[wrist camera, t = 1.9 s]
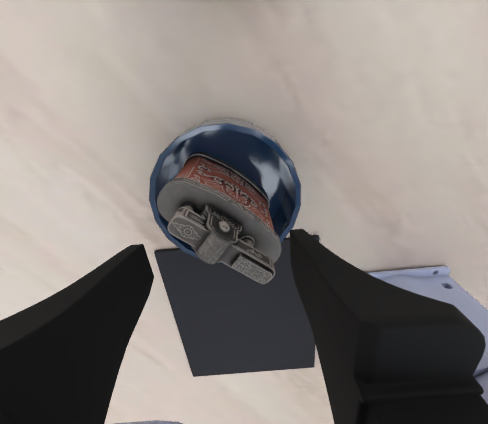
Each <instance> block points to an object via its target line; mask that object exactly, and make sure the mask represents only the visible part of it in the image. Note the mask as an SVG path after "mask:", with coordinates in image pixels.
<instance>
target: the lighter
mask: <svg viewBox="0 0 488 424" xmlns="http://www.w3.org/2000/svg"><path fill="white" fill-rule="evenodd" d="M269 206H270V204H269V199H268V197H267V195H266V193H265V192H264V191H263V190H262V189H261V188H260V187H259V186H258V185H257V184H256V183H255V182H254V181H252V180H251V179H250V178H249V177H247V176H246V175H245V174H244V173H242V172H241V171H240V170H238V169H237V168H235V167H233V166H231V165H230V164H228V163H226V162H225V161H223V160H221V159H219V158H216V157H214V156H212V155H210V154H207V153H205V152H201V151H199V152H194V153H192V154H191V155H190V156H189V157H188V158H187V159H186V160H185V162H184V164H183V167H182V169H181V171H180V172H179V173H178V174H177V176H176V177H175V178H174V179H173V180H171V181H169V182H168V183H167V184H166V185H165V186H164V187H163V189H162V190H161V191H160V193H159V195H158V198H157V207H158V210H159V213H160V214H161V215H162V216H163V218H164V219H166V220H167V221H168V222H169V225H168V231H169V233H170V234H172V235H173V236H175V237H177V238H179V239H180V240H182V241H184V242H186V243H188V244H189V245H191V247H192V249H193V250H194V251H195V254H196V255H197V257H198V258H199V259H200V260H202V261H204V262H206V263H208V264H215V263H220V262H222V263H224V264H226V265H227V266H229V267H231V268H233V269H235V270H237V271H238V272H240V273H242V274H244V275H246V276H247V277H249V278H251V279H253V280H255V281H256V282H259V283H261V284H266V283H268V282H269V281H270V280H271V279H272V278H273V277H274V276H275V269H274V263H275V262H276V261H277V260H278V258H279V257H280V254H281V243H280V240H279V237H278V236H277V234H276V233H275V232H274V228H273V224H272V220H271V216H270V212H269Z"/></svg>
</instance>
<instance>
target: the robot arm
mask: <svg viewBox="0 0 488 424" xmlns="http://www.w3.org/2000/svg"><path fill="white" fill-rule="evenodd" d="M290 257H291V268H292V273H293V277H294V281H295V284H296V287H297V290H298V293H299V295H300V298H301V301H302V304H303V306H304V309H305V312H306V315H307V317H308V320H309V323H310V326H311V329H312V332H313V336H314V340H315V344H316V347H317V351H318V355H319V359H320V363H321V367H322V371H323V376H324V380H325V384H326V388H327V393H328V397H329V401H330V405H331V410H332V414H333V419H334V423H335V424H488V310H487V309H486V308H485V307H484V306H483V305H481V304H480V303H479V302H478V301H477V300H476V299H475V298H473V297H472V296H471V295H470V294H469V293H468V292H467V291H465V290H464V289H463V288H462V287H461V286H460V285H459V284H457V283H456V282H455V281H454V280H453V279H452V278H451V277H449V273H450V268H448V267H447V266H436V267H425V268H414V269H403V270H391V271H380V272H369V273H366V272H364V271H362V270H360V269H358V268H356V267H355V266H353V265H351V264H349V263H348V262H346V261H344V260H343V259H341V258H340V257H338V256H337V255H335V254H334V253H332V252H331V251H330V250H328V249H327V248H326V247H324V246H323V245H322V244H320V243H319V242H318V241H317V240H315V239H314V238H313V237H312V236H311V235H309V234H308V233H307V232H306V231H305V230H303V229H296V230H290ZM153 279H154V275H153V272H152V269H151V266H150V263H149V260H148V257H147V254H146V251H145V248H144V245H143V244H139V245H131V246H129V247H127V248H125V249H124V250H122V251H121V252H119V253H118V254H116V255H115V256H113V257H112V258H110V259H109V260H107V261H106V262H105V263H103V264H102V265H100V266H99V267H97V268H96V269H94V270H93V271H91V272H90V273H88V274H87V275H85V276H84V277H82V278H81V279H79V280H77V281H76V282H74V283H73V284H71V285H70V286H68V287H66V288H64V289H63V290H61V291H59V292H57V293H56V294H54V295H52V296H50V297H48V298H47V299H45V300H43V301H41V302H39V303H37V304H35V305H33V306H31V307H29V308H27V309H24V310H22V311H20V312H18V313H16V314H14V315H12V316H10V317H8V318H5V319H3V320H1V321H0V424H104V422H105V419H106V415H107V411H108V407H109V403H110V400H111V396H112V392H113V389H114V386H115V382H116V379H117V375H118V372H119V369H120V366H121V363H122V360H123V356H124V353H125V350H126V347H127V345H128V342H129V340H130V337H131V335H132V333H133V331H134V328H135V326H136V324H137V322H138V319H139V317H140V315H141V313H142V310H143V308H144V306H145V303H146V301H147V299H148V296H149V293H150V290H151V287H152V283H153ZM115 424H182V423H179V422H171V421H142V422H129V423H115Z"/></svg>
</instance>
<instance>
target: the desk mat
mask: <svg viewBox="0 0 488 424" xmlns="http://www.w3.org/2000/svg"><path fill="white" fill-rule="evenodd" d="M312 237H313V238H314V239H315V240H317V241H318V242H319V236H318V235H315V236H312ZM154 254H155V257H156V260H157V263H158V266H159V270H160V273H161V276H162V279H163V282H164V285H165V289H166V292H167V295H168V298H169V301H170V304H171V308H172V311H173V314H174V317H175V320H176V323H177V327H178V330H179V333H180V336H181V339H182V343H183V346H184V349H185V352H186V355H187V358H188V362H189V365H190V368H191V371H192V374H193V377H195V376H208V375H221V374H234V373H246V372H259V371H272V370H285V369H298V368H310V367H314V360H315V340H314V336H313V332H312V329H311V326H310V323H309V320H308V317H307V315H306V312H305V309H304V306H303V304H302V301H301V298H300V295H299V293H298V290H297V287H296V284H295V281H294V277H293V273H292V268H291V257H290V238H284V240H283V241H282V242H281V254H280V257H279V258H278V260H277V261H276V262H275V263H274V269H275V276H274V277H273V278H272V279H271V280H270V281H269V282H268V283H266V284H261V283H259V282H256V281H255V280H253V279H251V278H249V277H247V276H246V275H244V274H242V273H240V272H238V271H237V270H235V269H233V268H231V267H229V266H227V265H226V264H221V263H215V264H208V263H206V262H204V261H202V260H200V259H199V258H196V257H194V256H192V255H190V254H187V253H185V252H183V251H182V250H181V249H180V248H176V249H166V250H156V251H155V252H154Z"/></svg>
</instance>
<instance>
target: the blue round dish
mask: <svg viewBox="0 0 488 424" xmlns="http://www.w3.org/2000/svg"><path fill="white" fill-rule="evenodd" d="M199 151H201V152H205V153H207V154H210V155H212V156H214V157H216V158H219V159H221V160H223V161H225V162H226V163H228V164H230V165H231V166H233V167H235V168H237V169H238V170H240V171H241V172H242V173H244V174H245V175H246V176H247V177H249V178H250V179H251V180H252V181H254V182H255V183H256V184H257V185H258V186H259V187H260V188H261V189H262V190H263V191H264V192H265V193H266V195H267V197H268V199H269V204H270V206H269V212H270V216H271V220H272V224H273V228H274V232H275V233H276V234H277V236H278V237H279V240H280V243H281V242H282V241H283V240H284V238H285V237H286V236H287V234H288V233H289V232H290V230H291V229H292V228H293V226H294V224H295V221H296V218H297V215H298V212H299V209H300V206H301V185H300V181H299V178H298V176H297V173H296V170H295V167H294V164H293V162H292V161H291V159H290V158H289V157H288V155H287V154H286V153H285V152H284V150H283V149H282V148H281V147H280V145H279V144H278V143H277V142H276V140H275V139H274V138H273V137H272V136H271V135H270V134H269V133H267V132H266V131H264V130H263V129H261V128H260V127H258V126H256V125H255V124H253V123H250V122H246V121H243V120H238V119H233V118H224V119H214V120H208V121H205V122H203V123H201V124H199V125H197V126H195V127H193V128H191V129H188V130H187V131H186V132H184V133H183V134H181V135H180V136H178V137H177V138H176V139H175V140H174V141H173V142H172V143H171V144H170V145H169V146H168V147H167V148H166V149H165V150H164V151H163V152H162V153H161V154H160V156H159V158H158V160H157V163H156V165H155V167H154V170H153V172H152V174H151V177H150V192H149V201H150V204H151V208H152V211H153V214H154V218H155V220H156V222H157V224H158V225H159V227H160V228H161V230H162V231H163V233H164V234H165V236H166V237H167V238H168V239H169V240H170V241H171V242H172V243H174V244H175V245H176V246H177V247H178V248H180V249H181V250H182V251H183V252H185V253H187V254H190V255H192V256H194V257H196V258H198V257H197V255H196V254H195V251H194V250H193V249H192V247H191V245H189V244H188V243H186V242H184V241H182V240H180V239H179V238H177V237H175V236H173V235H172V234H170V233H169V231H168V225H169V222H168V221H167V220H166V219H164V218H163V216H162V215H161V214H160V213H159V210H158V207H157V198H158V195H159V193H160V191H161V190H162V189H163V187H164V186H165V185H166V184H167V183H168V182H169V181H171V180H173V179H174V178H175V177H176V176H177V174H178V173H179V172H180V171H181V169H182V167H183V164H184V162H185V160H186V159H187V158H188V157H189V156H190V155H191V154H192V153H194V152H199ZM220 263H221V264H224V263H222V262H220Z"/></svg>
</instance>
